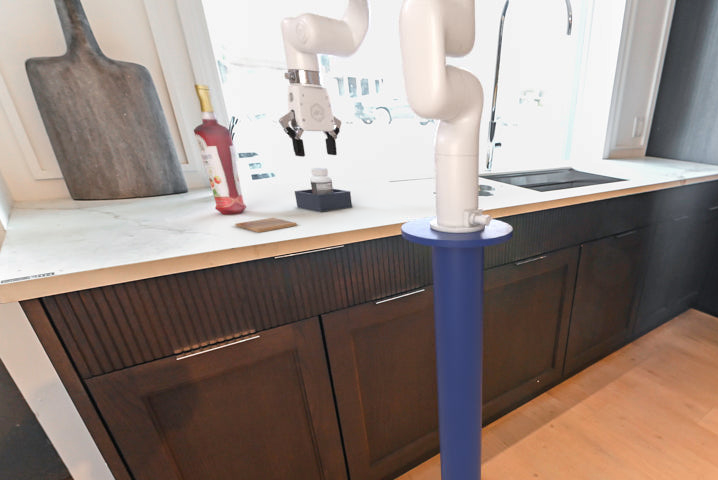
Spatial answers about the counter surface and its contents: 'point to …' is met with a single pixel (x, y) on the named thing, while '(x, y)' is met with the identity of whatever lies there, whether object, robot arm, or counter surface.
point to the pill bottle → (321, 181)
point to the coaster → (265, 224)
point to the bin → (323, 200)
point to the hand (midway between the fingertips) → (316, 155)
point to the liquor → (218, 157)
